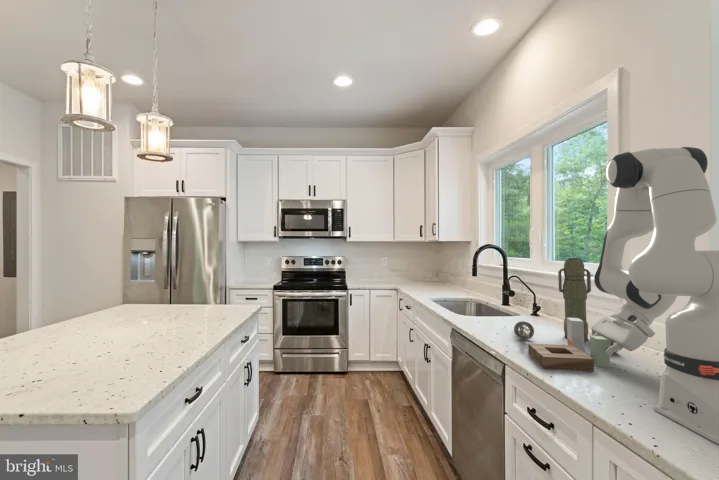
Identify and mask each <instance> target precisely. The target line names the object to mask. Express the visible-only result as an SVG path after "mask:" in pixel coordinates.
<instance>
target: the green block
mask: <svg viewBox="0 0 719 480" xmlns="http://www.w3.org/2000/svg"><path fill="white" fill-rule="evenodd" d="M589 341H590V343H589V347H590V350H589V351H590V353H589V354H590V357H592V358H593V359H594V366H597V367H611V355H608V354H606V353H605V352H604V349H605V348H606V347H608V348H609V347H610V342H609V339H607V338H605V337H603V336H592V335H589Z"/></svg>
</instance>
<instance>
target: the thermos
mask: <svg viewBox="0 0 719 480" xmlns="http://www.w3.org/2000/svg"><path fill="white" fill-rule="evenodd" d="M562 272H563V276H564V279H562ZM585 273H586V279H585ZM557 274H558V291H559V293H560V292H561V293H562V298H563V299H564V319H563V320H564V321H563V332H564V338H565V339H567V318H579V319H581V320H582V321H583V322H584V342H586V341H589V337H588V336H589V324H588V322H587V299H588V294H590V293H591V292H592V287H591V286H592V284H591V283H592V281H591V279H592V278H591V272H590V271H589V269H586V268H585V263H584V261H583V259H581V258H578V257H567V258H565V260H564V264H563V268H559V270H558V271H557ZM562 281H564V282H562ZM562 283H563V284H562Z"/></svg>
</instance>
